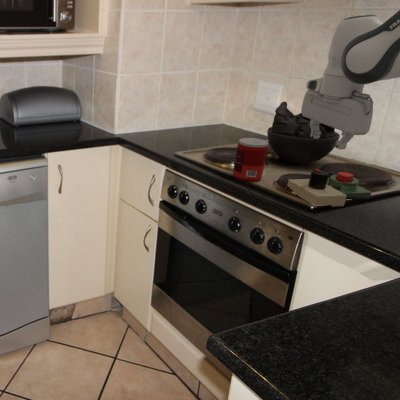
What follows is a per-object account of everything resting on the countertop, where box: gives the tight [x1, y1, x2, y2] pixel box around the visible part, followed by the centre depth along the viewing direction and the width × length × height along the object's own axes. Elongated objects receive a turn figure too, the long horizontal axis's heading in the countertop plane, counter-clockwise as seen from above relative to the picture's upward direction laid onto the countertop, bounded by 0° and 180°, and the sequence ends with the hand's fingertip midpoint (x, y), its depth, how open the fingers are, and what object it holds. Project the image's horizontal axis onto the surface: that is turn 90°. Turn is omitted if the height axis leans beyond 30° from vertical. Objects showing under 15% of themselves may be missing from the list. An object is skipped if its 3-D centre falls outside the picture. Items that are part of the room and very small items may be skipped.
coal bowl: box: [266, 101, 341, 165], centre depth 149 cm, size 20×20×19 cm
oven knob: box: [308, 168, 330, 190], centre depth 123 cm, size 4×4×4 cm
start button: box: [336, 171, 354, 182], centre depth 127 cm, size 4×4×2 cm
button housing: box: [327, 174, 372, 201], centre depth 128 cm, size 11×8×4 cm
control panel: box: [286, 178, 347, 207], centre depth 125 cm, size 12×8×3 cm
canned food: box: [232, 137, 269, 183], centre depth 137 cm, size 8×8×11 cm
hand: (326, 143), depth 120 cm, fingers open, 8 cm apart
